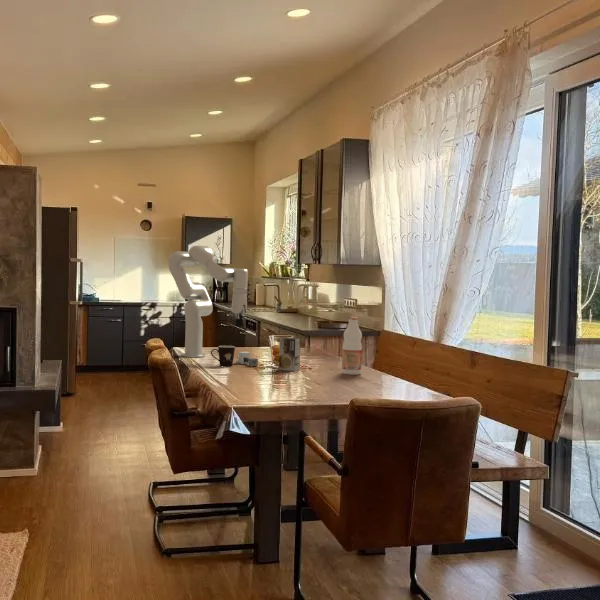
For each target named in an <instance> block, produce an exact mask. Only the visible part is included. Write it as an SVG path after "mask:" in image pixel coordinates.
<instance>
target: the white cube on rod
mask: <svg viewBox="0 0 600 600" xmlns="http://www.w3.org/2000/svg"><path fill="white" fill-rule="evenodd" d="M238 356H239V359H238V363H237V364H241V365H246V364H247V365H249V363H248V362H245V361H244V358H247V359H250V358H251V352H248V351H238Z"/></svg>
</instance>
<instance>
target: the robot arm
mask: <svg viewBox="0 0 600 600" xmlns="http://www.w3.org/2000/svg"><path fill="white" fill-rule="evenodd" d="M213 253H214V252H213V250H212V248H211V247H209V246H208V245H207V246H206V245H194V246H191V247H190V249H189V250H188V251H179V250H178V251H174V252H172V253H171V254H170V255H169V258H168V259H167V260H168V261H167V265H168V266H167V267H168V270H169V272H170V274H171V276H172V278H173V280H174V282H175V284H176V287H177V289H178V292H179V295H180V297H182V299H183V300H188V301H186V303H184V309H183V310H184V318H185V332H184V333H185V336H184V337H185V339H184V340H185V341H184V352H183V353H181V356H182V357H185V358H204V357H206V354H205V353H203V338H204V337H203V335H204V334H203V333H204V331H203V330H204V326H203V325H204V324H203V323H204V322H203V319H202V318H201V317H207V316H210V315H211V314H212V312H213V310H214V309H213V308H214V306H213V302H212V300H211V298H210V296H209V293H208V291H207V288H206V287H205V285H203V283H200V282H195V281H192V279H191V276H190V275H189V272H188V271H187V270H186V269H185V268H184V267H186V268H190V267H191V268H193V267H196V266H199V265H200V266H201V267H203V268H204V269H206V272H207V273H208V275H209V276H211V278H213V279H214V280H217V281H218V282H221V283H233V284H232V287H233V289H232V291H233V292H232V298H231V299H232V300H231V313H233V314H234V315H235V327H239V328H240V327H243V326H244V325H243V322H244V317H245V316H246V313H247V312H248V281H249V280H248V279H249V271H248V269H247V268H234V267H222V266H221V265H219V264H218V263H217V262H218V258H217V256H216V255H214V254H213Z"/></svg>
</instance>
